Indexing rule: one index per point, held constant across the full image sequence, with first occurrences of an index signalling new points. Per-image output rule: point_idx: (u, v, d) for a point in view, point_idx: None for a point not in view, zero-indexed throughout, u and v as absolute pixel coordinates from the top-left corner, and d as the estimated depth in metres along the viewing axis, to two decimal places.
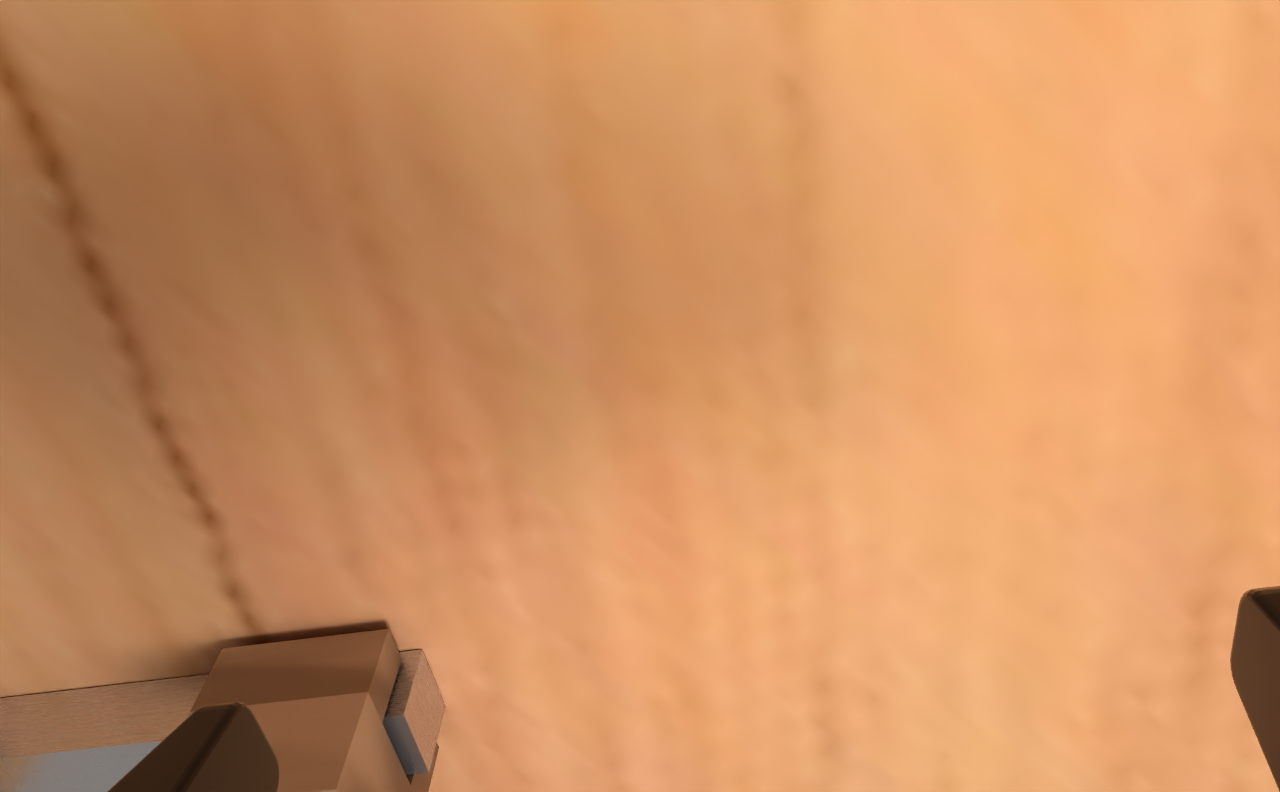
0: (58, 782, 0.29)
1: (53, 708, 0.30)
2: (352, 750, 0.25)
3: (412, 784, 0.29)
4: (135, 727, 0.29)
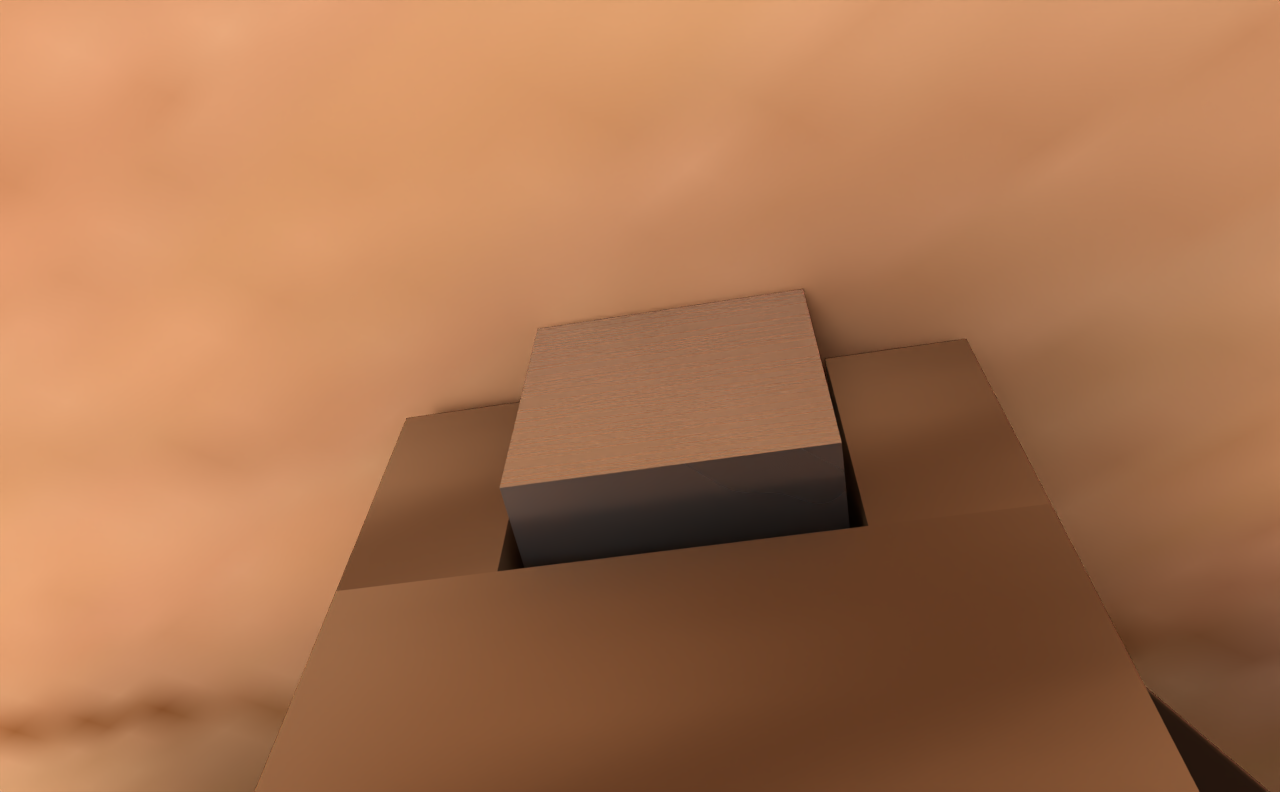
0: None
1: None
2: None
3: (877, 515, 0.07)
4: None
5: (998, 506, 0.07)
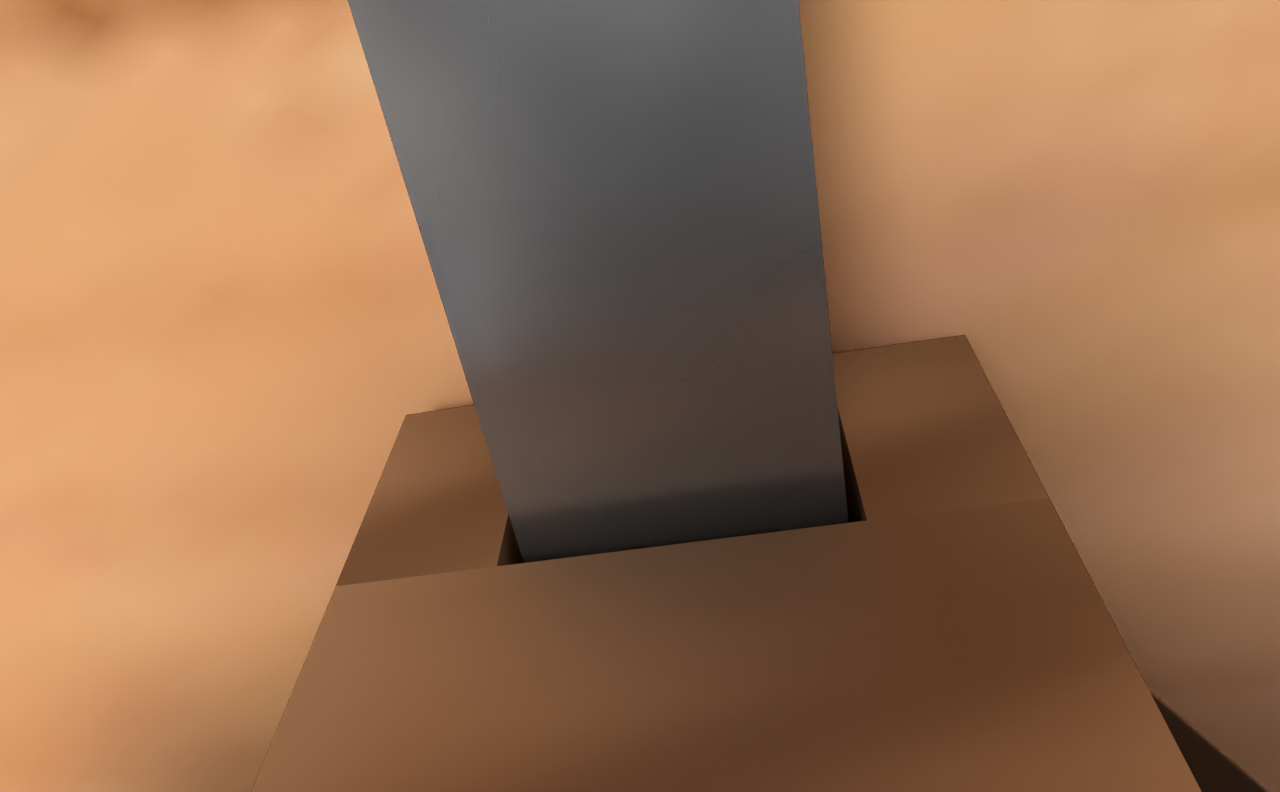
0: None
1: None
2: (276, 789, 0.06)
3: (876, 509, 0.07)
4: None
5: (996, 498, 0.07)
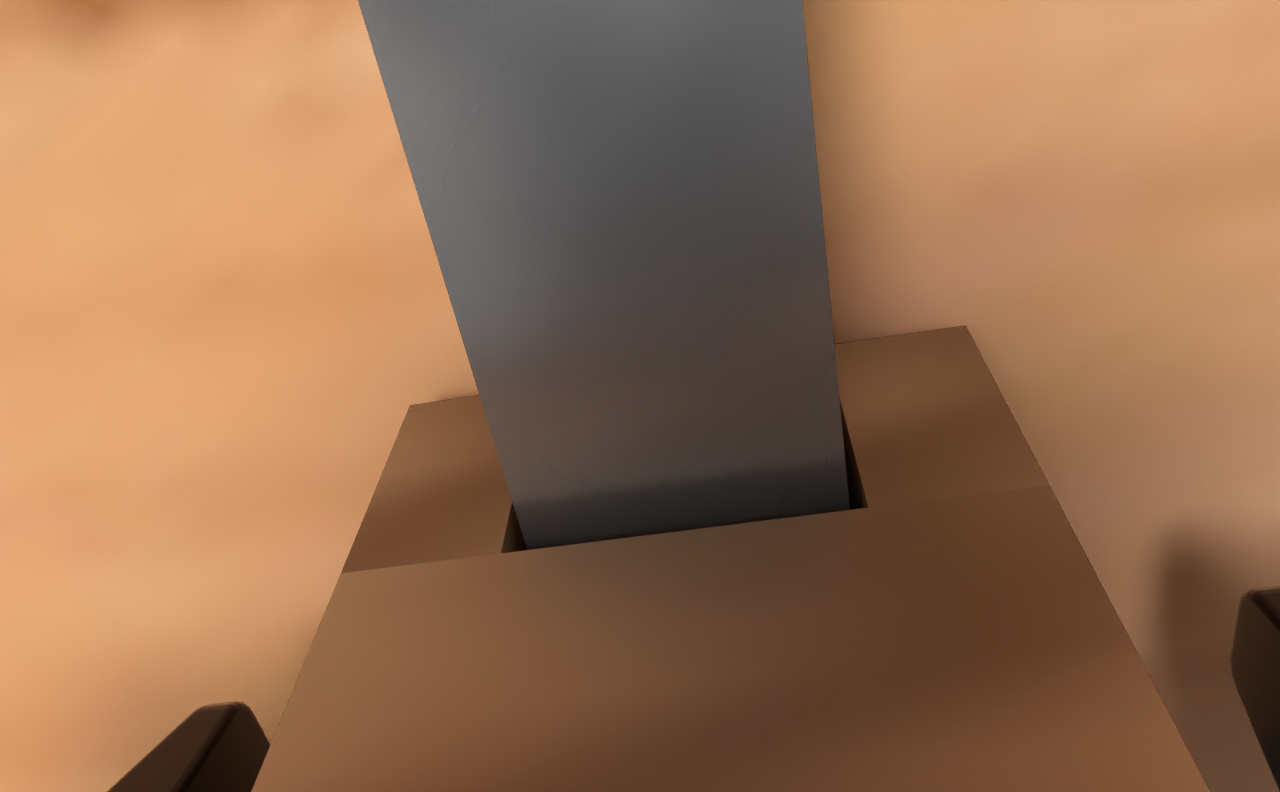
0: None
1: None
2: (283, 771, 0.06)
3: (877, 497, 0.07)
4: None
5: (996, 485, 0.07)
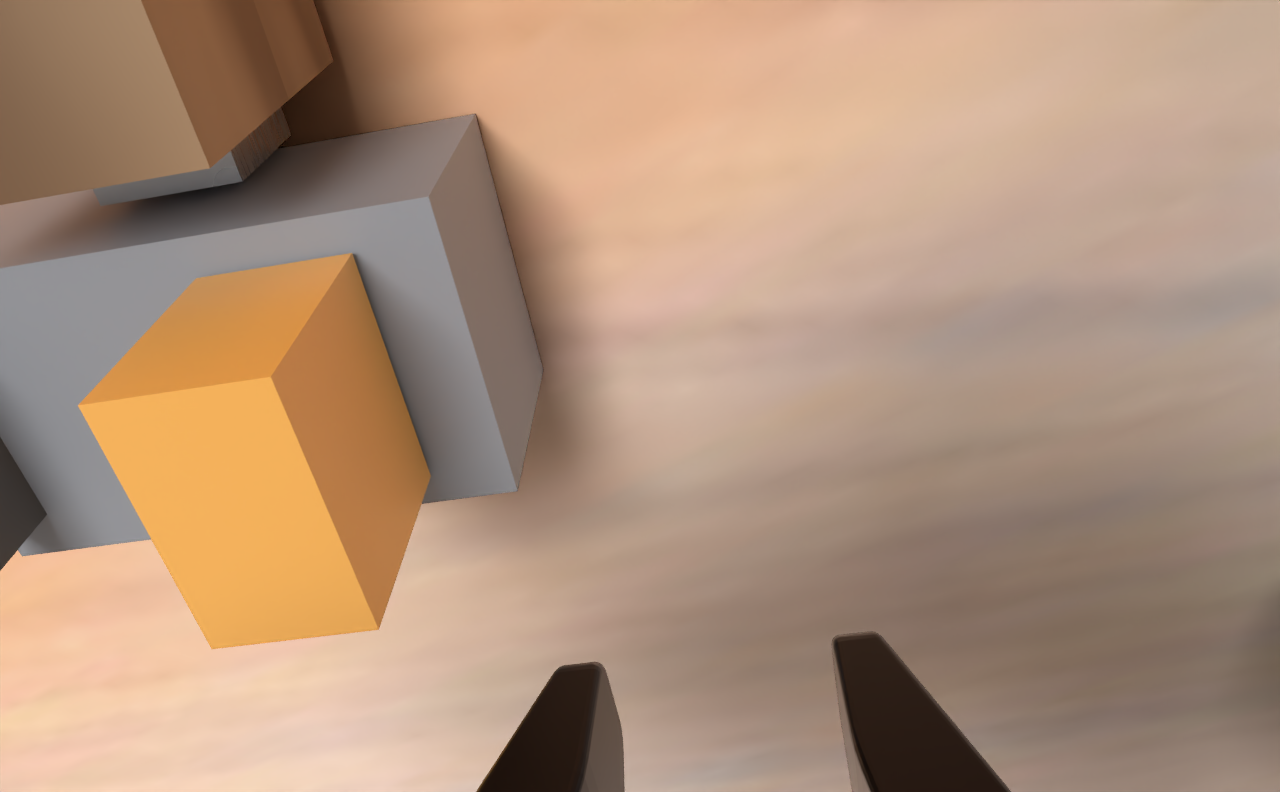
0: None
1: None
2: None
3: None
4: None
5: None
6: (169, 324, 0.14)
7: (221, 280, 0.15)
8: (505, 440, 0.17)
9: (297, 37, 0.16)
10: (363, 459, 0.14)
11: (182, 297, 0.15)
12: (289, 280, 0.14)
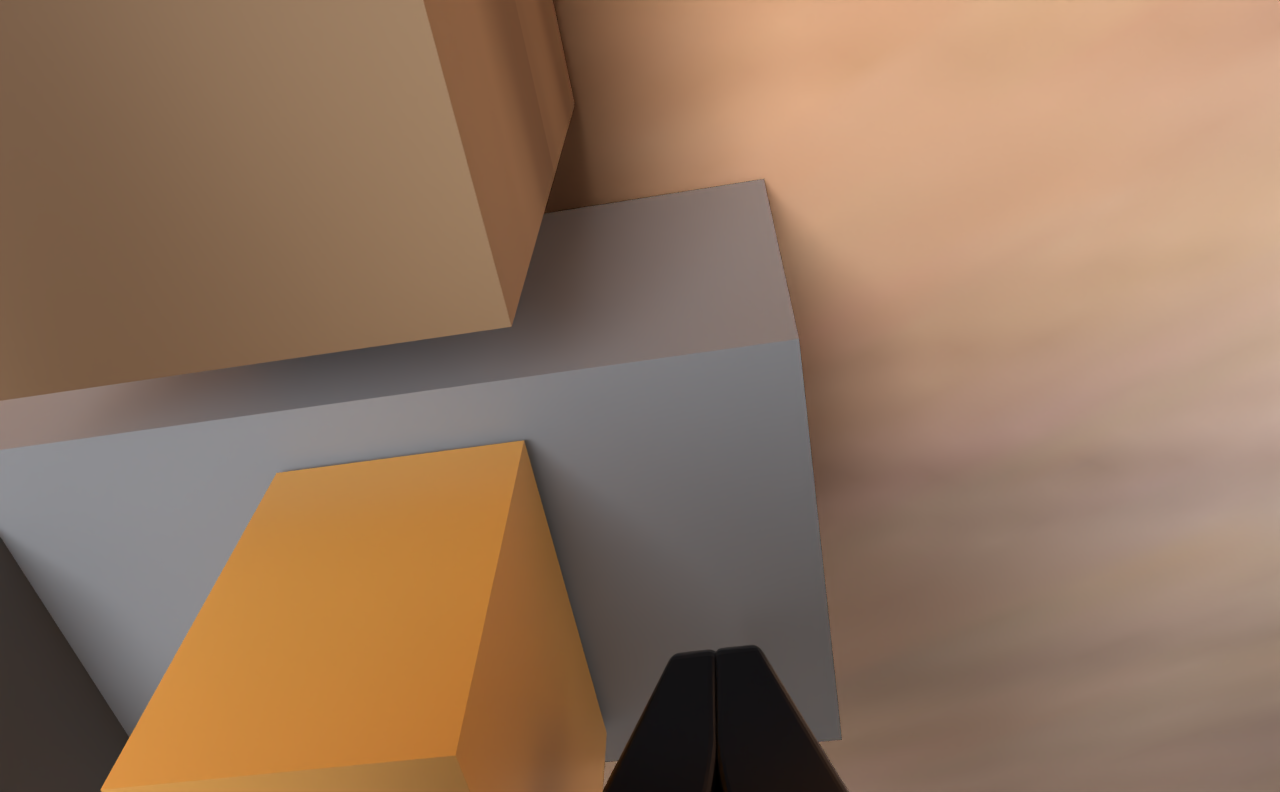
0: None
1: None
2: None
3: None
4: None
5: None
6: (246, 582, 0.08)
7: (318, 482, 0.09)
8: (833, 671, 0.11)
9: (551, 74, 0.10)
10: (553, 786, 0.09)
11: (258, 512, 0.09)
12: (432, 493, 0.09)
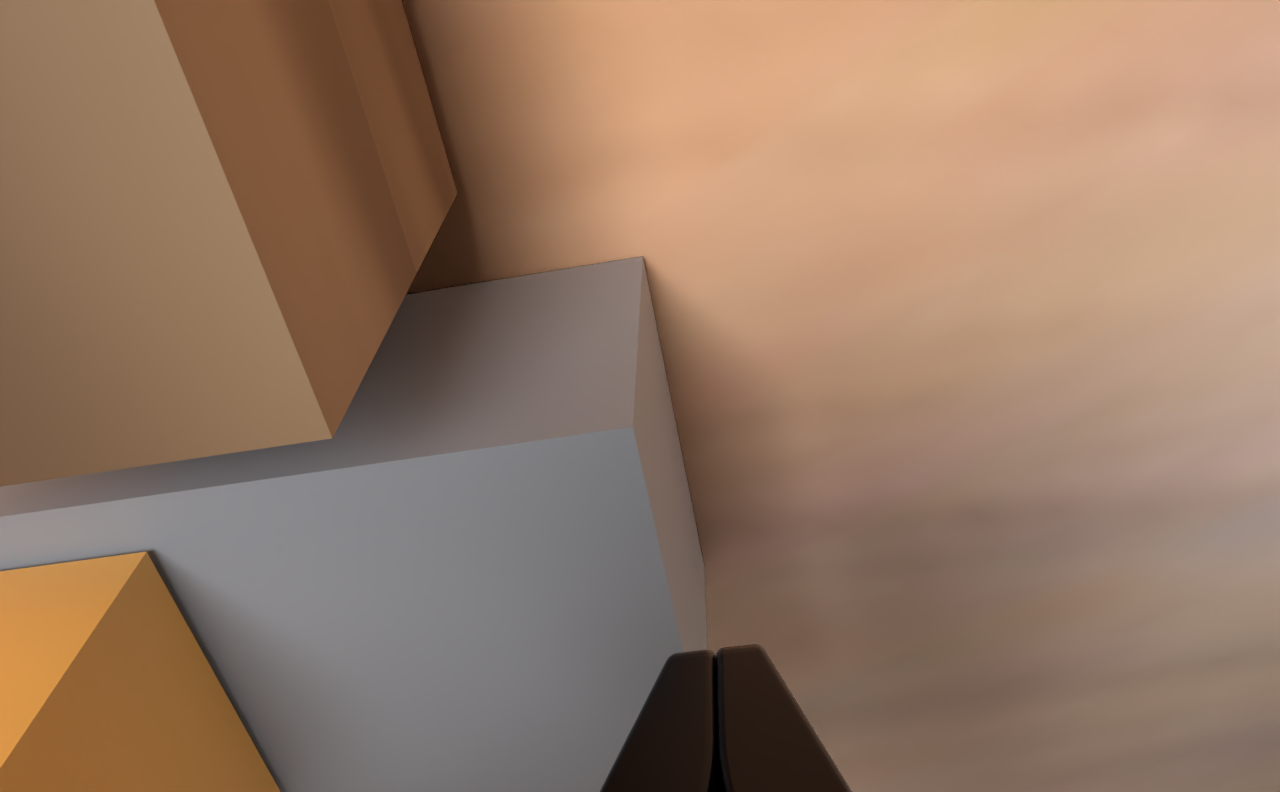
0: None
1: None
2: None
3: None
4: None
5: None
6: None
7: None
8: None
9: (421, 174, 0.11)
10: None
11: None
12: (46, 605, 0.10)
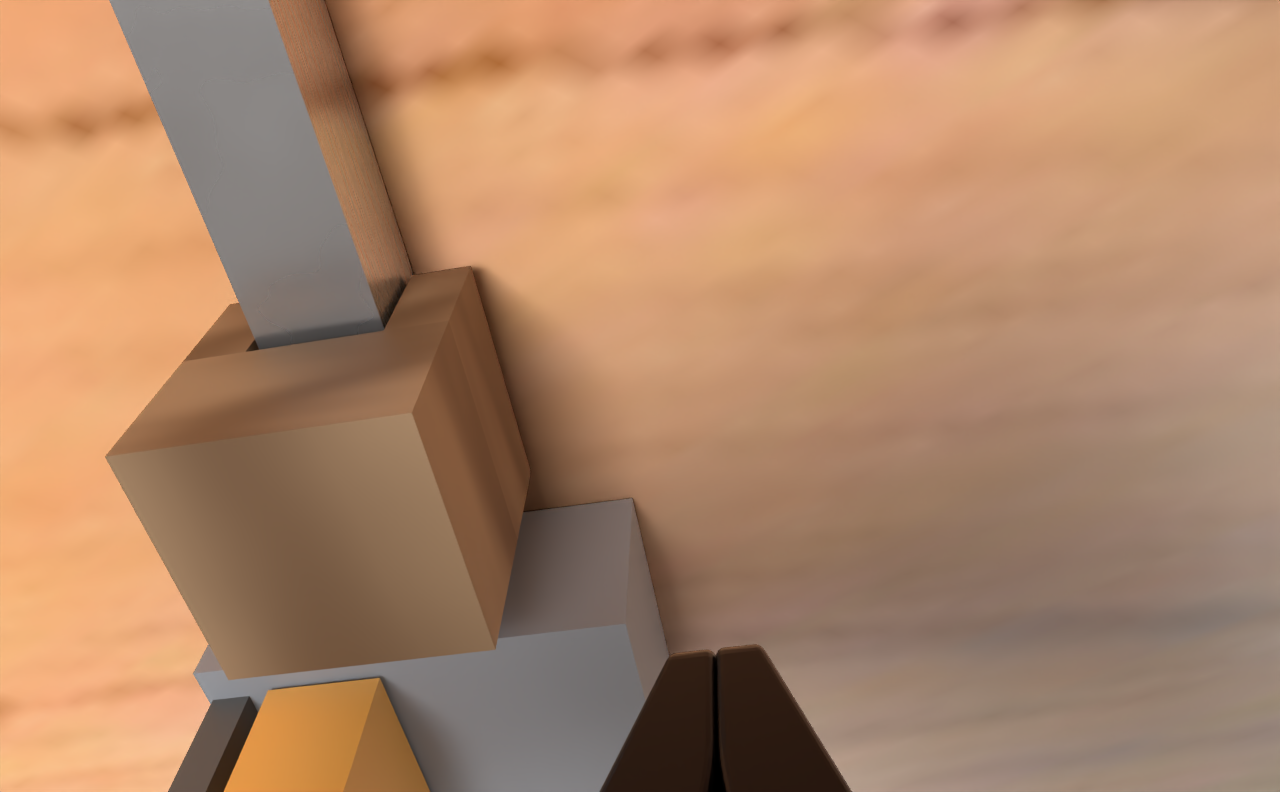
0: None
1: None
2: (149, 411, 0.17)
3: (389, 327, 0.18)
4: None
5: (431, 321, 0.18)
6: (254, 751, 0.20)
7: (287, 697, 0.21)
8: None
9: (516, 480, 0.21)
10: None
11: (259, 713, 0.21)
12: (336, 707, 0.20)
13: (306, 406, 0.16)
